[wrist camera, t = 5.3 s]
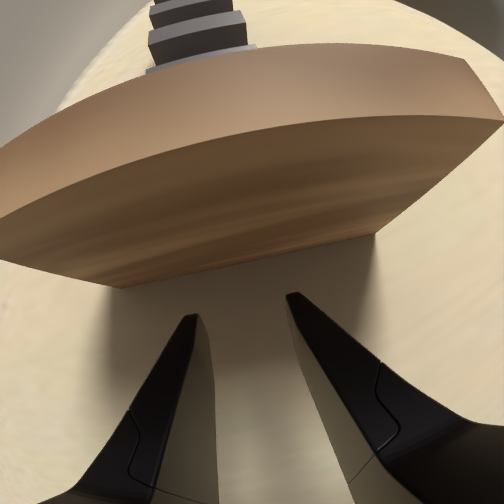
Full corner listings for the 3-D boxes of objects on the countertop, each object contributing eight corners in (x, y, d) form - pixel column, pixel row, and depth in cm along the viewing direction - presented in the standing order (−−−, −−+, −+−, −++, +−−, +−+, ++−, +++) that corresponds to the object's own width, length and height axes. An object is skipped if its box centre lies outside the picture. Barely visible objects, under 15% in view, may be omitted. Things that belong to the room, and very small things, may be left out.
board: (374, 233, 16) (506, 121, 5) (121, 288, 16) (-45, 245, 5) (363, 197, 17) (464, 59, 5) (116, 251, 17) (-33, 174, 5)
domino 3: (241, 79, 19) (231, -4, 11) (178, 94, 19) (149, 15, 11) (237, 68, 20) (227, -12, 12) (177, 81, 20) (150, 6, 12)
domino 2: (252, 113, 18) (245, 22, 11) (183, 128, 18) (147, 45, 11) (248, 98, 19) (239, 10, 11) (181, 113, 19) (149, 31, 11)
